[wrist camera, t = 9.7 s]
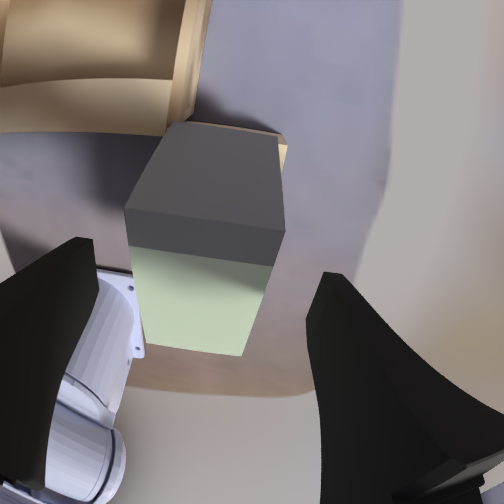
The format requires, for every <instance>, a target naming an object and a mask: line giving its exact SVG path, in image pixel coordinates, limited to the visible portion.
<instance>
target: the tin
mask: <svg viewBox="0 0 504 504" xmlns="http://www.w3.org/2000/svg"><path fill="white" fill-rule="evenodd" d="M124 214H125V223H126V231H127V238H128V246H129V252H130V259H131V265H132V272H133V278H134V283H135V289H136V294H137V300H138V305H139V310H140V315H141V320H142V324H143V329H144V334H145V338H146V342H147V343H152V344H157V345H163V346H169V347H175V348H182V349H188V350H195V351H202V352H210V353H218V354H226V355H234V356H242V353H243V350H244V348H245V345H246V342H247V339H248V337H249V334H250V331H251V328H252V325H253V323H254V320H255V317H256V314H257V311H258V309H259V306H260V303H261V300H262V297H263V295H264V292H265V289H266V286H267V283H268V280H269V277H270V275H271V272H272V269H273V266H274V263H275V260H276V257H277V254H278V251H279V249H280V246H281V243H282V240H283V237H284V234H285V218H284V205H283V192H282V180H281V169H280V157H279V146H278V137H277V136H272V135H266V134H261V133H255V132H249V131H243V130H237V129H230V128H223V127H216V126H209V125H201V124H193V123H184V122H174V121H173V122H172V124H171V125H170V127H169V128H168V130H167V132H166V133H165V135H164V136H163V138H162V140H161V141H160V143H159V145H158V146H157V148H156V150H155V152H154V153H153V155H152V157H151V158H150V160H149V162H148V164H147V165H146V167H145V169H144V171H143V173H142V174H141V176H140V178H139V180H138V182H137V184H136V185H135V187H134V189H133V191H132V193H131V195H130V197H129V199H128V201H127V203H126V205H125V206H124Z"/></svg>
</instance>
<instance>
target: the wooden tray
mask: <svg viewBox="0 0 504 504" xmlns="http://www.w3.org/2000/svg"><path fill="white" fill-rule="evenodd" d="M212 1H213V0H0V133H14V132H99V133H120V134H135V135H149V136H160V137H163V136H164V135H165V133H166V132H167V125H171V124H172V122H173V121H174V122H183V121H185V120H186V119H187V118H188V117H189V116H190V115H192V114H193V113H194V106H195V99H196V92H197V85H198V79H199V72H200V66H201V60H202V54H203V48H204V43H205V37H206V32H207V26H208V21H209V16H210V11H211V6H212Z"/></svg>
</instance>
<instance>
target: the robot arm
mask: <svg viewBox="0 0 504 504" xmlns="http://www.w3.org/2000/svg"><path fill="white" fill-rule="evenodd" d="M129 285H131V286H133V287H134V288H132V287H130V286H129ZM306 335H307V348H308V353H309V358H310V364H311V369H312V374H313V380H314V385H315V390H316V396H317V401H318V407H319V414H320V428H321V460H322V463H321V467H322V468H321V495H320V504H504V482H502V483H500V484H499V485H497V486H495V487H493V488H491V489H489V490H487V491H486V492H483V493H481V494H480V490H479V487H480V486H482V485H484V483H485V481H484V478H483V474H484V473H486V472H487V471H489V470H491V469H492V468H494V467H495V466H497V465H498V464H500V463H501V462H503V461H504V414H502V413H500V412H498V411H496V410H494V409H492V408H490V407H489V406H487V405H485V404H483V403H482V402H480V401H478V400H477V399H475V398H474V397H472V396H471V395H469V394H467V393H466V392H464V391H463V390H462V389H460V388H459V387H457V386H456V385H454V384H453V383H452V382H450V381H449V380H448V379H446V378H445V377H444V376H443V375H441V374H440V373H438V372H437V371H436V370H435V369H434V368H433V367H431V366H430V365H429V364H428V363H427V362H426V361H425V360H423V359H422V358H421V357H420V356H419V355H418V354H417V353H416V352H414V351H413V350H412V349H411V348H410V347H409V346H408V345H407V344H406V343H405V342H404V341H403V340H402V339H401V338H400V337H399V336H398V335H397V334H396V333H395V332H394V331H393V330H392V329H391V327H390V326H389V325H388V324H387V323H386V322H385V321H384V320H383V319H382V318H381V317H380V315H379V314H378V313H377V312H376V311H375V310H374V309H373V308H372V306H371V305H370V304H369V303H368V302H367V301H366V300H365V299H364V297H363V296H362V295H361V294H360V293H359V292H358V291H357V289H356V288H355V287H354V286H353V285H352V284H351V283H350V282H349V281H348V280H347V279H346V278H345V277H344V276H343V275H342V274H338V273H331V272H323V275H322V278H321V280H320V283H319V286H318V288H317V291H316V294H315V296H314V299H313V301H312V304H311V307H310V309H309V312H308V314H307V317H306ZM144 354H145V352H144V343H143V334H142V324H141V315H140V310H139V305H138V300H137V294H136V289H135V283H134V278H133V275H131V274H125V273H119V272H113V271H107V270H101V269H96V262H95V255H94V246H93V239H88V238H82V237H75V238H73V239H71V240H69V241H67V242H65V243H64V244H62V245H60V246H59V247H57V248H55V249H54V250H52V251H51V252H49V253H47V254H46V255H44V256H43V257H41V258H40V259H38V260H36V261H35V262H33V263H32V264H30V265H29V266H27V267H26V268H24V269H22V270H21V271H19V272H18V273H16V274H14V275H13V276H11V277H10V278H8V279H6V280H5V281H3V282H2V283H0V504H106V503H107V502H108V501H109V500H110V499H111V498H112V497H113V496H114V495H115V493H116V491H117V490H118V488H119V485H120V483H121V480H122V477H123V474H124V469H125V463H126V450H125V446H124V443H123V438H122V436H121V433H120V432H119V431H118V430H117V429H115V428H113V423H114V419H115V413H116V412H117V410H118V408H119V405H120V401H121V397H122V394H123V390H124V387H125V383H126V379H127V376H128V372H129V369H130V366H131V362H132V359H133V357H135V358H143V357H144Z"/></svg>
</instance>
